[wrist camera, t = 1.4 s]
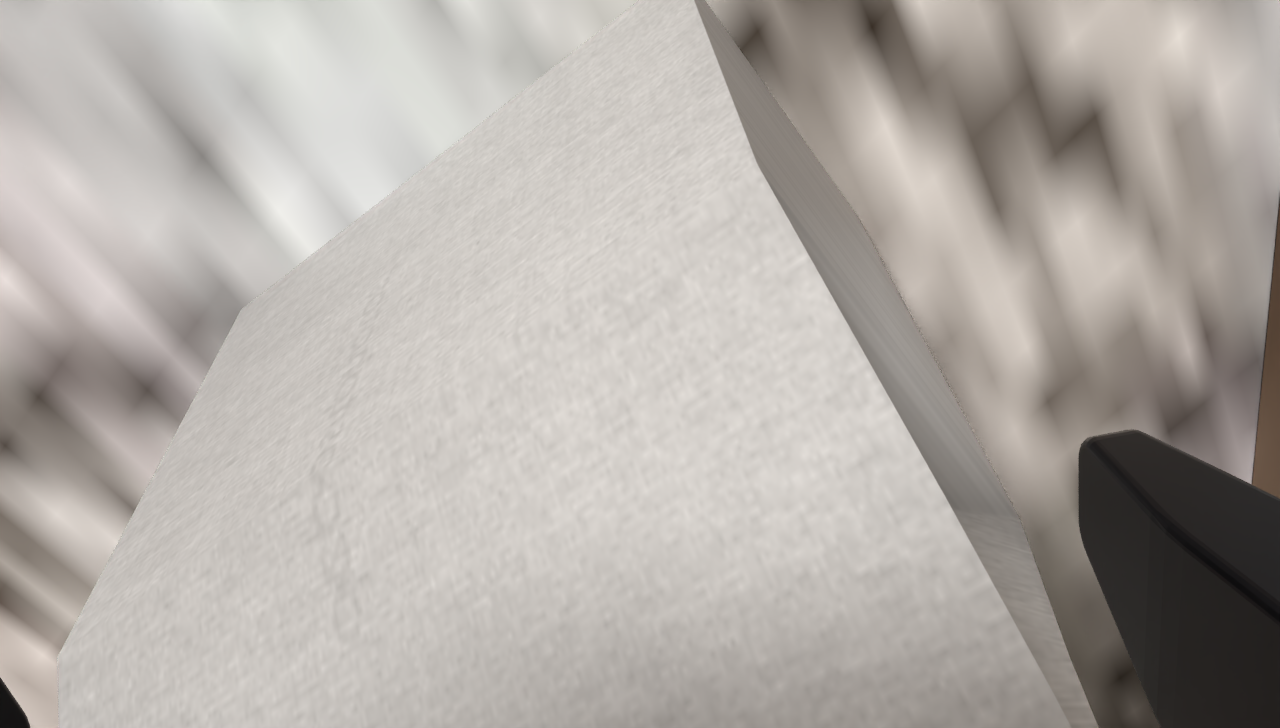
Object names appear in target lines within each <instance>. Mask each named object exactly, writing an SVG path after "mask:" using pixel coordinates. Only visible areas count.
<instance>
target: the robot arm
mask: <svg viewBox="0 0 1280 728" xmlns="http://www.w3.org/2000/svg"><path fill="white" fill-rule="evenodd" d="M1079 527H1080V533H1081V538H1082V542H1083V545H1084V548H1085V551H1086V553H1087V556H1088V558H1089V561H1090V563H1091V565H1092V568H1093V570H1094V572H1095V575H1096V577H1097V580H1098V582H1099V584H1100V587H1101V589H1102V592H1103V594H1104V596H1105V599H1106V601H1107V604H1108V606H1109V608H1110V611H1111V613H1112V615H1113V618H1114V620H1115V623H1116V625H1117V627H1118V630H1119V632H1120V635H1121V637H1122V639H1123V642H1124V644H1125V647H1126V649H1127V651H1128V654H1129V656H1130V658H1131V661H1132V663H1133V666H1134V668H1135V670H1136V673H1137V675H1138V678H1139V680H1140V682H1141V685H1142V687H1143V689H1144V692H1145V694H1146V696H1147V699H1148V701H1149V703H1150V705H1151V708H1152V710H1153V712H1154V714H1155V717H1156V719H1157V721H1158V723H1159V724H1160V726H1161V728H1280V498H1278V497H1276V496H1274V495H1272V494H1270V493H1268V492H1266V491H1264V490H1262V489H1260V488H1258V487H1256V486H1253V485H1251V484H1249V483H1247V482H1245V481H1243V480H1241V479H1239V478H1237V477H1235V476H1233V475H1231V474H1229V473H1227V472H1224V471H1222V470H1220V469H1218V468H1216V467H1214V466H1212V465H1210V464H1208V463H1206V462H1204V461H1202V460H1200V459H1198V458H1196V457H1193V456H1191V455H1189V454H1187V453H1185V452H1183V451H1181V450H1179V449H1177V448H1175V447H1173V446H1171V445H1169V444H1167V443H1165V442H1162V441H1160V440H1158V439H1156V438H1154V437H1152V436H1150V435H1148V434H1146V433H1144V432H1141V431H1138V430H1124V431H1119V432H1113V433H1108V434H1103V435H1098V436H1093V437H1089V438H1087V439H1086V440H1085V441H1084V442H1083V443H1082V444H1081V447H1080V451H1079ZM0 728H30V725H29V722H28V719H27V716H26V715H25V713H24V711H23V710H22V708H21V707H20V705H19V704H18V702H17V701H16V700H15V698H14V697H13V695H12V694H11V692H10V691H9V689H8V688H7V686H6V685H5V684H4V682H3V681H2V679H1V678H0Z"/></svg>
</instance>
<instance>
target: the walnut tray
mask: <svg viewBox="0 0 1280 728" xmlns="http://www.w3.org/2000/svg"><path fill="white" fill-rule="evenodd" d="M1252 485H1253V486H1256V487H1258V488H1260V489H1262V490H1264V491H1266V492H1268V493H1270V494H1272V495H1274V496H1276V497H1278V498H1280V205H1279V215H1278V226H1277V236H1276V246H1275V256H1274V267H1273V277H1272V287H1271V297H1270V308H1269V318H1268V328H1267V338H1266V348H1265V359H1264V369H1263V379H1262V389H1261V400H1260V410H1259V420H1258V430H1257V441H1256V451H1255V461H1254V471H1253V482H1252Z"/></svg>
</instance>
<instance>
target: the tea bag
mask: <svg viewBox="0 0 1280 728" xmlns="http://www.w3.org/2000/svg"><path fill="white" fill-rule="evenodd" d="M57 671H58V718H59V728H1099V727H1098V725H1097V722H1096V720H1095V717H1094V715H1093V712H1092V710H1091V707H1090V705H1089V703H1088V700H1087V698H1086V695H1085V693H1084V690H1083V688H1082V686H1081V683H1080V681H1079V678H1078V676H1077V673H1076V671H1075V668H1074V666H1073V664H1072V661H1071V659H1070V656H1069V653H1068V651H1067V648H1066V645H1065V642H1064V640H1063V637H1062V634H1061V631H1060V629H1059V626H1058V623H1057V620H1056V618H1055V615H1054V612H1053V609H1052V607H1051V604H1050V601H1049V598H1048V596H1047V593H1046V590H1045V587H1044V584H1043V582H1042V579H1041V576H1040V573H1039V571H1038V568H1037V565H1036V562H1035V560H1034V557H1033V554H1032V551H1031V549H1030V546H1029V543H1028V540H1027V538H1026V535H1025V532H1024V529H1023V527H1022V524H1021V521H1020V518H1019V516H1018V515H1017V513H1016V511H1015V509H1014V507H1013V505H1012V503H1011V501H1010V500H1009V498H1008V496H1007V494H1006V492H1005V490H1004V488H1003V487H1002V485H1001V483H1000V481H999V479H998V477H997V475H996V473H995V472H994V470H993V468H992V466H991V464H990V462H989V460H988V459H987V457H986V455H985V453H984V451H983V449H982V447H981V446H980V444H979V442H978V440H977V438H976V436H975V434H974V432H973V431H972V429H971V427H970V425H969V423H968V421H967V419H966V418H965V416H964V414H963V412H962V410H961V408H960V406H959V404H958V403H957V401H956V399H955V397H954V395H953V393H952V391H951V390H950V388H949V386H948V384H947V382H946V380H945V378H944V376H943V375H942V373H941V371H940V369H939V367H938V365H937V363H936V362H935V360H934V358H933V356H932V354H931V352H930V350H929V348H928V347H927V345H926V343H925V341H924V339H923V337H922V335H921V334H920V332H919V330H918V328H917V326H916V324H915V322H914V320H913V319H912V317H911V315H910V313H909V311H908V309H907V307H906V306H905V304H904V302H903V300H902V298H901V296H900V294H899V292H898V291H897V289H896V287H895V285H894V283H893V281H892V279H891V278H890V276H889V274H888V272H887V270H886V268H885V266H884V264H883V263H882V261H881V259H880V257H879V255H878V253H877V251H876V250H875V248H874V246H873V244H872V242H871V240H870V238H869V236H868V235H867V233H866V231H865V229H864V227H863V225H862V223H861V222H860V220H859V218H858V216H857V214H856V213H855V212H854V210H853V209H852V207H851V206H850V205H849V203H848V202H847V200H846V199H845V197H844V196H843V195H842V193H841V192H840V190H839V189H838V188H837V186H836V185H835V183H834V182H833V181H832V179H831V178H830V176H829V175H828V173H827V172H826V171H825V169H824V168H823V166H822V165H821V164H820V162H819V161H818V159H817V158H816V157H815V155H814V154H813V152H812V151H811V149H810V148H809V147H808V145H807V144H806V142H805V141H804V140H803V138H802V137H801V135H800V134H799V132H798V131H797V130H796V128H795V127H794V125H793V124H792V123H791V121H790V120H789V118H788V117H787V116H786V114H785V113H784V111H783V110H782V108H781V107H780V106H779V104H778V103H777V101H776V100H775V99H774V97H773V96H772V94H771V93H770V92H769V90H768V89H767V87H766V86H765V84H764V83H763V82H762V80H761V79H760V77H759V76H758V75H757V73H756V72H755V70H754V69H753V68H752V66H751V65H750V63H749V62H748V60H747V59H746V58H745V56H744V55H743V53H742V52H741V51H740V49H739V48H738V46H737V45H736V43H735V42H734V41H733V39H732V38H731V36H730V35H729V34H728V32H727V31H726V29H725V28H724V27H723V25H722V24H721V22H720V21H719V19H718V18H717V17H716V15H715V14H714V12H713V11H712V10H711V8H710V7H709V5H708V4H707V3H706V1H705V0H638V1H637V2H636V3H634V4H633V5H632V6H631V7H629V8H628V9H627V10H625V11H624V12H623V13H622V14H620V15H619V16H618V17H616V18H615V19H614V20H613V21H611V22H610V23H609V24H607V25H606V26H605V27H604V28H602V29H601V30H600V31H598V32H597V33H596V34H595V35H593V36H592V37H591V38H589V39H588V40H587V41H586V42H584V43H583V44H582V45H580V46H579V47H578V48H577V49H575V50H574V51H573V52H571V53H570V54H569V55H568V56H566V57H565V58H564V59H562V60H561V61H560V62H559V63H557V64H556V65H555V66H553V67H552V68H551V69H550V70H548V71H547V72H546V73H544V74H543V75H542V76H541V77H539V78H538V79H537V80H535V81H534V82H533V83H532V84H530V85H529V86H528V87H526V88H525V89H524V90H523V91H521V92H520V93H519V94H517V95H516V96H515V97H514V98H512V99H511V100H510V101H508V102H507V103H506V104H505V105H503V106H502V107H501V108H500V109H498V110H497V111H496V112H494V113H493V114H492V115H491V116H489V117H488V118H487V119H485V120H484V121H483V122H482V123H480V124H479V125H478V126H476V127H475V128H474V129H473V130H471V131H470V132H469V133H467V134H466V135H465V136H464V137H462V138H461V139H460V140H458V141H457V142H456V143H455V144H453V145H452V146H451V147H449V148H448V149H447V150H446V151H444V152H443V153H442V154H440V155H439V156H438V157H437V158H435V159H434V160H433V161H431V162H430V163H429V164H428V165H426V166H425V167H424V168H422V169H421V170H420V171H419V172H417V173H416V174H415V175H413V176H412V177H411V178H410V179H408V180H407V181H406V182H404V183H403V184H402V185H401V186H399V187H398V188H397V189H395V190H394V191H393V192H392V193H390V194H389V195H388V196H386V197H385V198H384V199H383V200H381V201H380V202H379V203H377V204H376V205H375V206H374V207H372V208H371V209H370V210H369V211H367V212H366V213H365V214H363V215H362V216H361V217H360V218H358V219H357V220H356V221H354V222H353V223H352V224H351V225H349V226H348V227H347V228H345V229H344V230H343V231H342V232H340V233H339V234H338V235H336V236H335V237H334V238H333V239H331V240H330V241H329V242H327V243H326V244H325V245H324V246H322V247H321V248H320V249H318V250H317V251H316V252H315V253H313V254H312V255H311V256H309V257H308V258H307V259H306V260H304V261H303V262H302V263H300V264H299V265H298V266H297V267H295V268H294V269H293V270H291V271H290V272H289V273H288V274H286V275H285V276H284V277H282V278H281V279H280V280H279V281H277V282H276V283H275V284H273V285H272V286H271V287H270V288H268V289H267V290H266V291H264V292H263V293H262V294H261V295H259V296H258V297H257V298H255V299H254V300H253V301H252V302H250V303H249V304H248V305H246V306H245V307H244V308H243V309H241V311H240V313H239V315H238V317H237V318H236V320H235V322H234V324H233V326H232V328H231V330H230V332H229V334H228V335H227V337H226V339H225V341H224V343H223V345H222V347H221V349H220V351H219V352H218V354H217V356H216V358H215V360H214V362H213V364H212V366H211V368H210V370H209V371H208V373H207V375H206V377H205V379H204V381H203V383H202V385H201V387H200V388H199V390H198V392H197V394H196V396H195V398H194V400H193V402H192V404H191V405H190V407H189V409H188V411H187V413H186V415H185V417H184V419H183V421H182V422H181V424H180V426H179V428H178V430H177V432H176V434H175V436H174V438H173V440H172V441H171V443H170V445H169V447H168V449H167V451H166V453H165V455H164V457H163V458H162V460H161V462H160V464H159V466H158V468H157V470H156V472H155V474H154V475H153V477H152V479H151V481H150V483H149V485H148V487H147V489H146V491H145V492H144V494H143V496H142V498H141V500H140V502H139V504H138V506H137V508H136V510H135V511H134V513H133V515H132V517H131V519H130V521H129V523H128V525H127V527H126V528H125V530H124V532H123V534H122V536H121V538H120V540H119V542H118V544H117V545H116V547H115V549H114V551H113V553H112V555H111V557H110V559H109V561H108V562H107V564H106V566H105V568H104V570H103V572H102V574H101V576H100V578H99V580H98V581H97V583H96V585H95V587H94V589H93V591H92V593H91V595H90V597H89V598H88V600H87V602H86V604H85V606H84V608H83V610H82V612H81V614H80V615H79V617H78V619H77V621H76V623H75V625H74V627H73V629H72V631H71V632H70V634H69V636H68V638H67V640H66V642H65V644H64V646H63V648H62V650H61V651H60V653H59V655H58V657H57Z"/></svg>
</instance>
